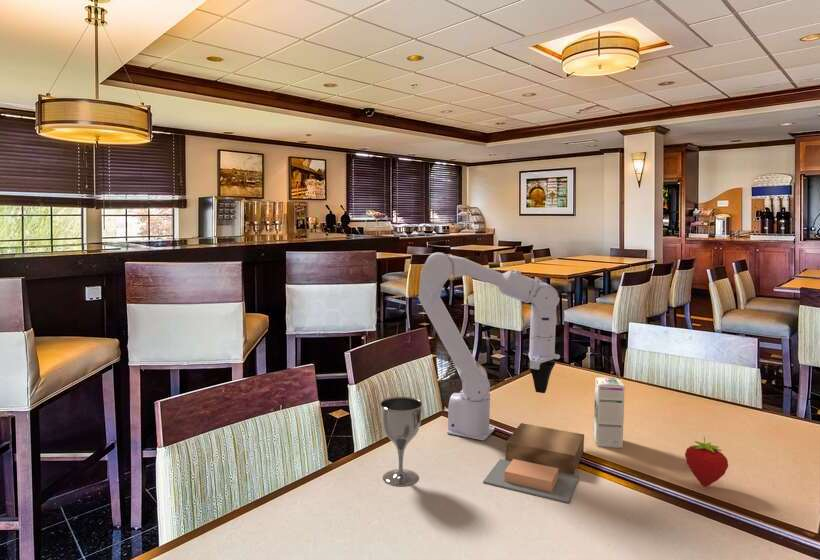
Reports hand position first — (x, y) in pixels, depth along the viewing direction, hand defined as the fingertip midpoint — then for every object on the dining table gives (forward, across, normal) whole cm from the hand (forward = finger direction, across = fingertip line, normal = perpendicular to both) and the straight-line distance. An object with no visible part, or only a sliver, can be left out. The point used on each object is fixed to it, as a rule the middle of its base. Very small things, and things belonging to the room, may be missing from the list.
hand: (540, 391), depth 124 cm
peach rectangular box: (+8, -24, -4) cm, 25 cm away
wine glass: (+10, -34, +19) cm, 40 cm away
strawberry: (+11, -10, -34) cm, 37 cm away
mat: (+10, -23, -4) cm, 26 cm away
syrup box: (+11, +3, -15) cm, 18 cm away
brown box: (+10, -11, -4) cm, 16 cm away
